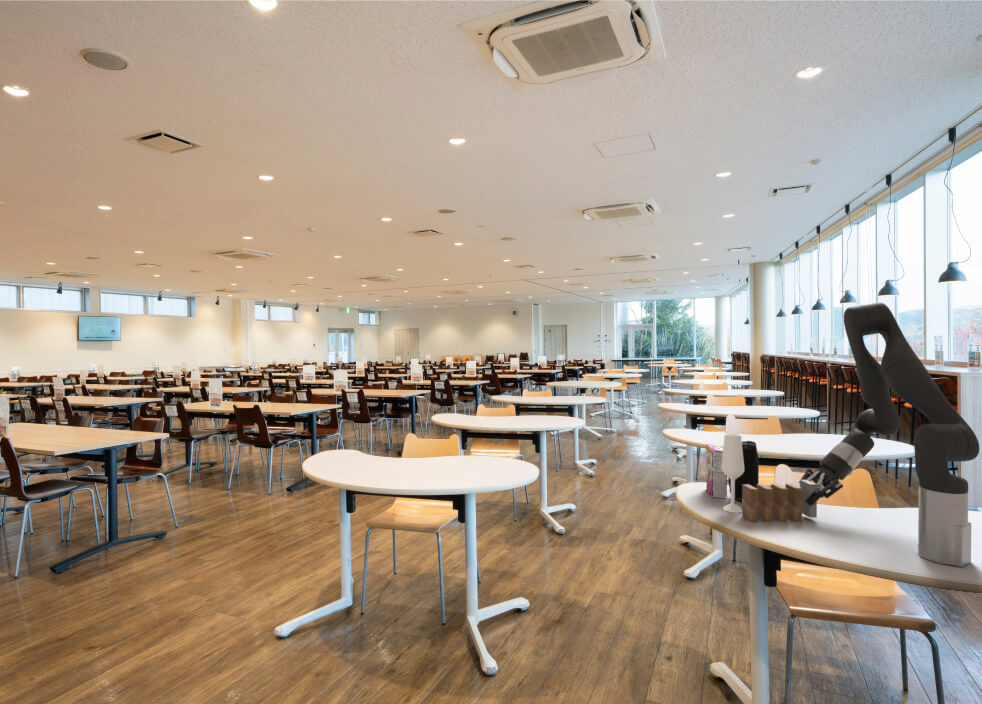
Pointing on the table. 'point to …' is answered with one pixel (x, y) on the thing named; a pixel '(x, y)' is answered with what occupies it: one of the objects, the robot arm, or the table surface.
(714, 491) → the candy bar box
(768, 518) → the walnut domino
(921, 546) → the robot arm
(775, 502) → the walnut domino
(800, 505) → the walnut domino
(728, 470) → the champagne flute
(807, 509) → the grey domino
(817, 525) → the table surface
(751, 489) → the walnut domino
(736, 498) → the portable speaker
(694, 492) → the table surface
